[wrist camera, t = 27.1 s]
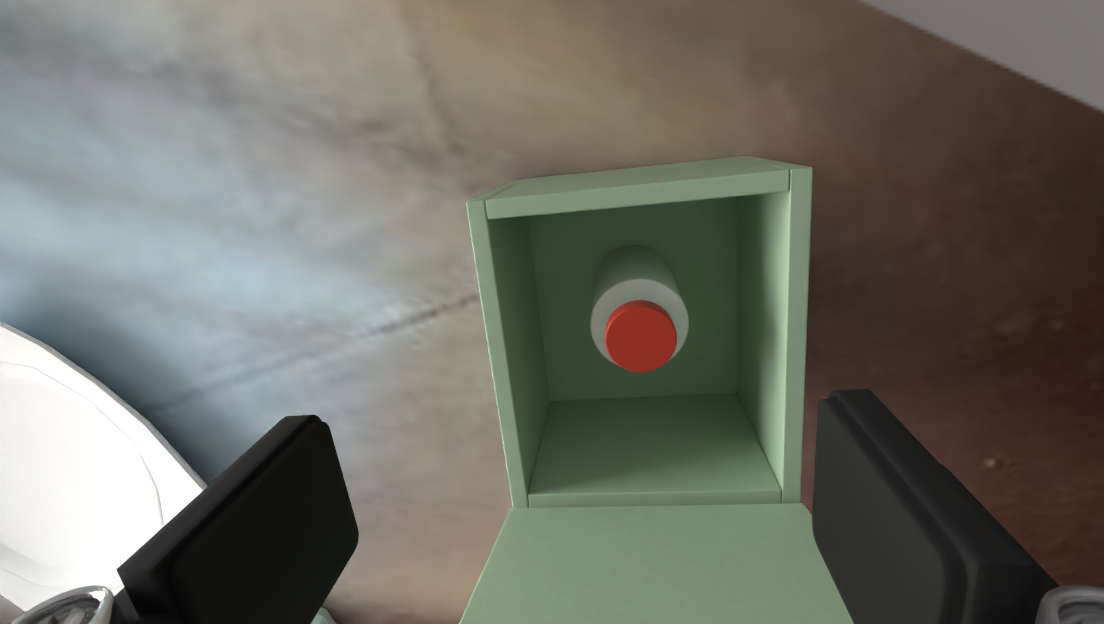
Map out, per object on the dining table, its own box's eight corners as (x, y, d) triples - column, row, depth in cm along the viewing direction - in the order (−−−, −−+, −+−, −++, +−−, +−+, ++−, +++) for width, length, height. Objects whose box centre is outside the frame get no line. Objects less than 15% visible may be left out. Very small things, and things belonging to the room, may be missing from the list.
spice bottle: (599, 241, 31) (593, 285, 22) (677, 248, 31) (701, 295, 22) (592, 314, 32) (584, 382, 24) (666, 321, 32) (686, 393, 23)
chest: (512, 179, 31) (465, 201, 21) (748, 155, 29) (813, 167, 20) (540, 406, 36) (512, 509, 26) (747, 397, 34) (800, 504, 24)
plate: (119, 641, 48) (92, 670, 45) (-133, 468, 44) (-178, 488, 42) (258, 478, 40) (234, 501, 38) (-33, 255, 37) (-81, 264, 34)
